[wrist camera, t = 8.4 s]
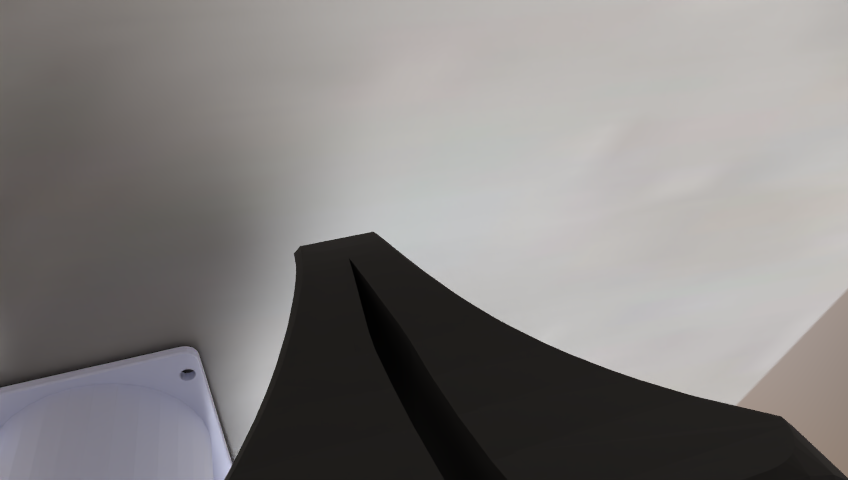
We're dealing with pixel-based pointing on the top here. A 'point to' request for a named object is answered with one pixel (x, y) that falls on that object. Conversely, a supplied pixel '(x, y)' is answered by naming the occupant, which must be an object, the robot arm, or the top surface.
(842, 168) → the top surface
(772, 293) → the top surface
